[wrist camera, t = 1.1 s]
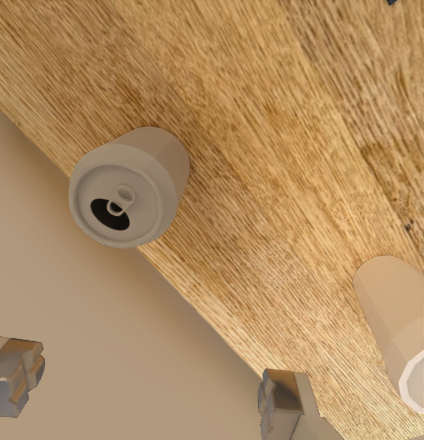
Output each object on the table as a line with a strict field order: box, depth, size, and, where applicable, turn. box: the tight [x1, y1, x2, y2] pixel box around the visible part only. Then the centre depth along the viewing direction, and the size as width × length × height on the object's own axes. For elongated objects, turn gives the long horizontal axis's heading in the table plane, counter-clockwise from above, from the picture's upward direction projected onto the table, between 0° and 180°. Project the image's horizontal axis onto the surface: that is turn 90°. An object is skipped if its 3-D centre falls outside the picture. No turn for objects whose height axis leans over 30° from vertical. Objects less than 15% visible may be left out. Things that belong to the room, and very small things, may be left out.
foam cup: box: [353, 255, 424, 414], centre depth 29 cm, size 10×9×13 cm
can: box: [69, 126, 190, 249], centre depth 25 cm, size 8×8×12 cm
